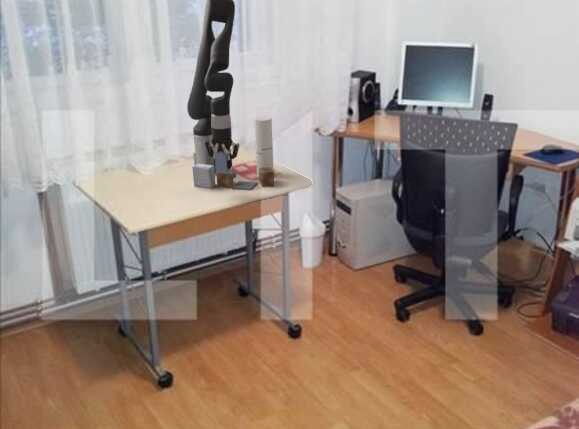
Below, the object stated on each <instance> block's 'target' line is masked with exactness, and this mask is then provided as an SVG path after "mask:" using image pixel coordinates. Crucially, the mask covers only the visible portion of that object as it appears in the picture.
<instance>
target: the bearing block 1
mask: <svg viewBox="0 0 579 429" xmlns="http://www.w3.org/2000/svg"><path fill="white" fill-rule="evenodd" d="M215 174H216V175H215V177H216V186H217V187H218V188H230V187H231V186H232V185H233V184H234V182H235V178H236V177H237V172H236V171H234V168H231V171H229V172H228V173H227V174H223V173H215Z"/></svg>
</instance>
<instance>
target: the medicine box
mask: <svg viewBox="0 0 579 429" xmlns="http://www.w3.org/2000/svg"><path fill="white" fill-rule="evenodd" d="M191 168H192V178H193V186H194V187H196V188H197V187H198V188H206V189H212V188H214V187H215V186H217V183H216V175H215V174H216V173H214V166H212V165H205V164H197V165H193V166H192V167H191Z"/></svg>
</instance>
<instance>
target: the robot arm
mask: <svg viewBox="0 0 579 429" xmlns="http://www.w3.org/2000/svg"><path fill="white" fill-rule="evenodd" d="M235 13H236V4H235V1H234V0H206V3H205V6H204V16H203V17H204V18H203V24H202V25H203V26H202V34H201V39H200V44H199V49H198V54H197V59H196V67H195V72H194V76H193V83H192V87H191V89H190V94H189V98H188V101H187V107H186V109H187V113H188V116H189V117H190V119H192V120H194V121H197V122H196V124H195V125H194V126H193V130H192V131H193V132H192V133H193V142H194V150H193V152H192V153H193V163H194V164H193V166H195V165H197V164H205V165H212V166H214V173H215V174H216V166H215V153H217V152H219V151H223V152H225V154H226V155H227V159H228V160H227V168H228V169H230V168H231V169H232V167H233V160H234V159H235V158H237V157H238V153H239V148H240V143H235V142H234V141H233V139H232V136H233V134H232V120H231V119H232V117H231V106H230V103H231V102H230V101H231V95H232V94H231V93H232V90H233V85H234V77H233V75H232V74H231V73H230V72H224V71H226V70H228V68H229V66H230V48H231V47H230V46H231V40H232V34H233V29H234V21H235ZM213 22H217V23H222V24H224V27H223V30H222V31H221V32H220V33H219V35H218V36H217V37H216V36H215V34H214V31H213ZM208 92H210V93H223V95H221V96H220V95H219V96H216V97H214V98H213V97H212V96H211V95H208ZM231 147H232V149H231ZM232 150H233V151H232Z"/></svg>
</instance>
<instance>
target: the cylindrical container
mask: <svg viewBox="0 0 579 429" xmlns="http://www.w3.org/2000/svg"><path fill="white" fill-rule="evenodd" d="M272 119H273V118H272V117H271V116H267V115H262V116H261V115H260V116H256V117H254V118H253V120H254V140H255V158H256V159H255V161H256V162H255V163H256V175H257V176H256V177H257V178H259V168H267V167H271V168H272V170H273V171H274V170H275V169H274V168H275V167H274V146H273V121H272ZM274 172H275V171H274Z"/></svg>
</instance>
